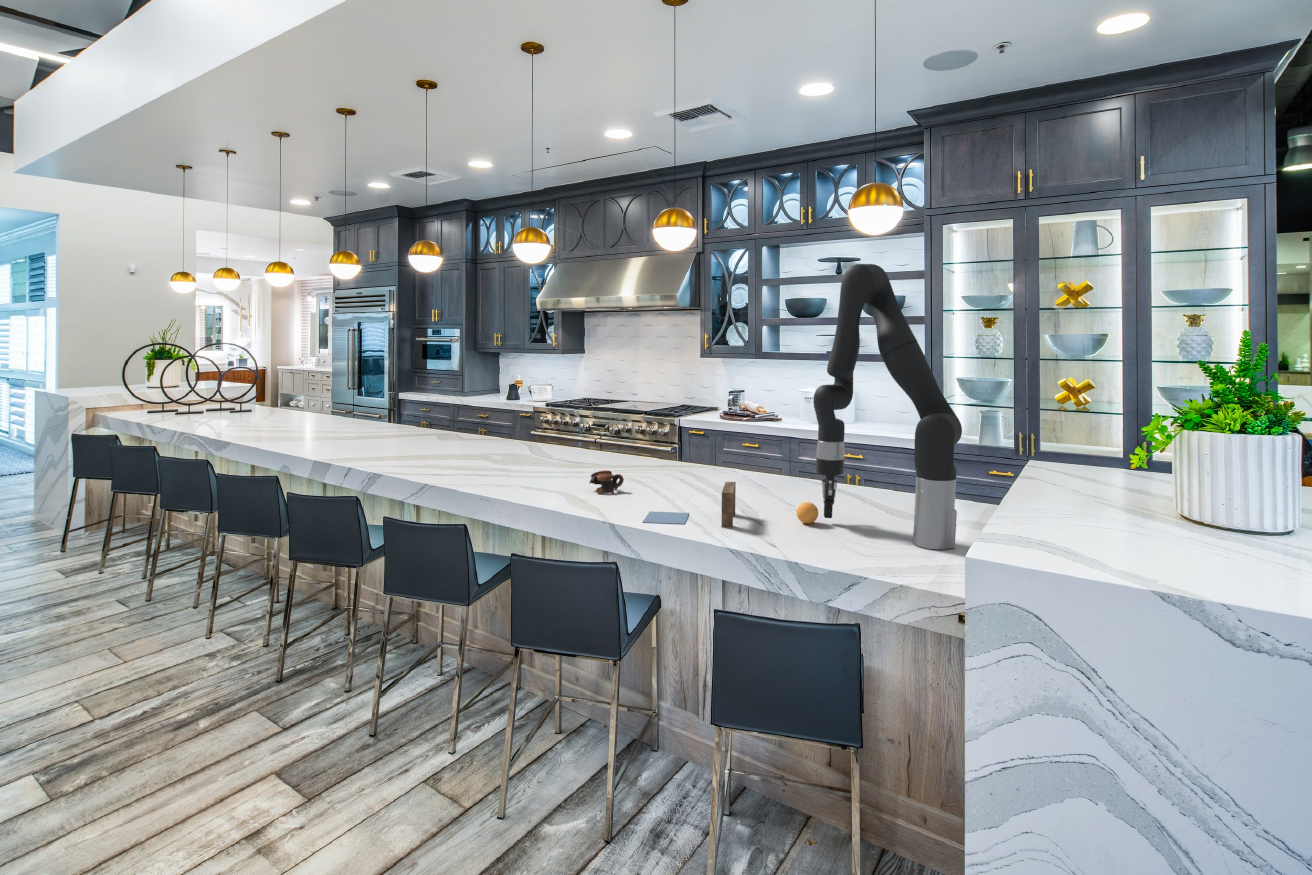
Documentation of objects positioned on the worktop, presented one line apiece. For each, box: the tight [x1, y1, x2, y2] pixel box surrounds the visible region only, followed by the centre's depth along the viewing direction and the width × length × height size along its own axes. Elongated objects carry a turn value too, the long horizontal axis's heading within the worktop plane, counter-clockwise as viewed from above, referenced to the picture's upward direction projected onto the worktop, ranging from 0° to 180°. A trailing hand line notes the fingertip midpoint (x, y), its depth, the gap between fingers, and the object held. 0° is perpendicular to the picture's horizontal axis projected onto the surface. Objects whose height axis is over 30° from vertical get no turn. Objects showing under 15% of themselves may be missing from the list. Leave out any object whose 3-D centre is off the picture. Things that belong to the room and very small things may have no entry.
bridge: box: [721, 481, 737, 528], centre depth 195 cm, size 3×15×10 cm, turn 171°
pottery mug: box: [588, 470, 625, 495], centre depth 235 cm, size 12×10×8 cm
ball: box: [796, 501, 819, 525], centre depth 192 cm, size 6×6×6 cm
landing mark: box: [641, 510, 690, 525], centre depth 199 cm, size 12×12×1 cm
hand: (827, 517), depth 192 cm, fingers closed
